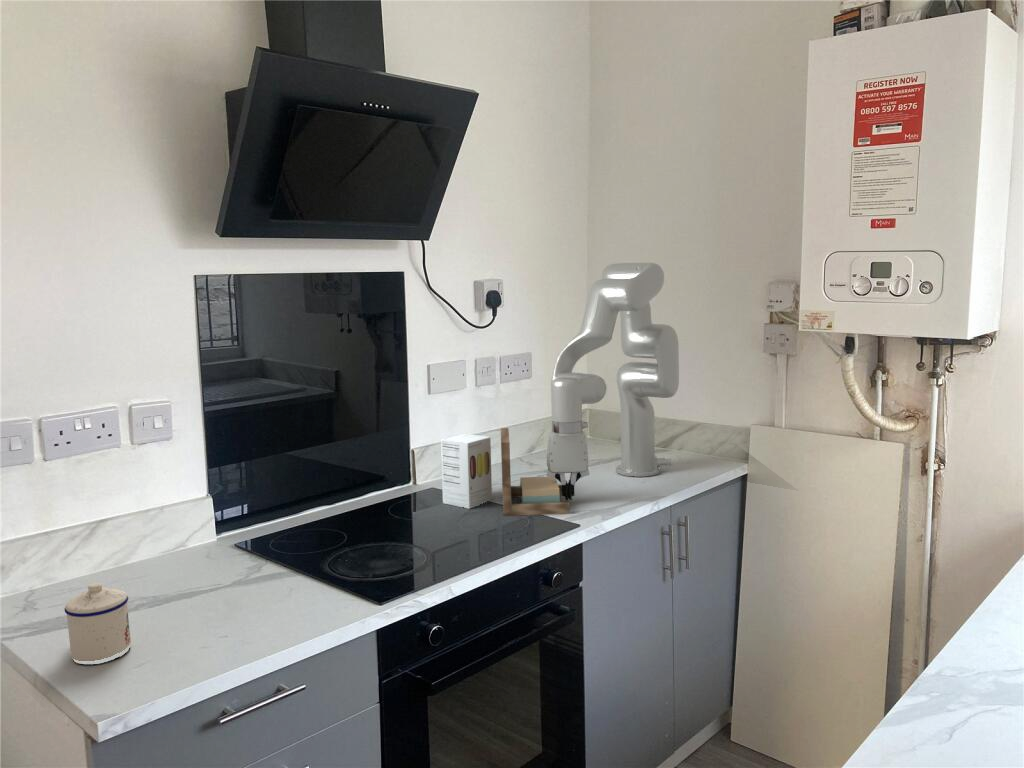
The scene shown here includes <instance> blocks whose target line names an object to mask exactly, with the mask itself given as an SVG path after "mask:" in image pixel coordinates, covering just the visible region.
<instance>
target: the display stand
mask: <svg viewBox="0 0 1024 768" xmlns="http://www.w3.org/2000/svg"><path fill="white" fill-rule="evenodd" d="M509 431H510V430H509V427H501V428H500V447H501V449H500V452H501V477H502V478H501V483H502V484H501V485H502V486H501V489H502V512H503V513H502V514H503V515H502V516H504V517H506V516H509V517H510V516H534V515H535V516H537V515H539V516H540V515H563V514H564V515H565V514H571V513H570V502H568V501H563V502H561V501H560V502H559V503H528V504H522V503H512V498H513V497H514V498H515V497H516V498H517V497H519V496H520V497H521V490H520V485H512V483H511V481H512V480H511V451H510V450H511V449H510V446H511V443H510V442H511V441H510V433H509ZM558 486H559V495H560V496H562V484H558Z"/></svg>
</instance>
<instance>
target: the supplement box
mask: <svg viewBox="0 0 1024 768" xmlns="http://www.w3.org/2000/svg"><path fill="white" fill-rule="evenodd" d="M491 440H492V439H491V436H486V435H477V434H469V433H462V434H458V435H455V436H454V435H453V436H451V437H447V438H442V439H441V438H440V452H441V453H440V454H441V455H440V457H441V480H442V481H441V482H442V483H441V485H442V488H441V489H442V504H445V505H450V506H455V507H460V508H463V507H464V508H463V509H468V510H469V509H472V508H475V506H476V507H478V506H481V505H483V503H484V504H486V503H488V502H487V501H489V502H492V501H491V500H493V494H492V493H493V489H492V485H493V484H492V450H491V449H492V446H491V443H492V441H491ZM485 502H486V503H485ZM480 504H481V505H480Z"/></svg>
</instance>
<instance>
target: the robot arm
mask: <svg viewBox="0 0 1024 768" xmlns="http://www.w3.org/2000/svg"><path fill="white" fill-rule="evenodd" d="M664 273H665V272H664V270H663V268H662V267H661V265H659V264H657V263H655V262H622V263H621V262H619V263H611V264H608V265H606V266H605V267H604V268H603V270H602V273H601V279H598V280H596V281H594V282H593V283H592V285H591V286H590V288H589V292H588V298H587V300H586V305H585V310H584V313H583V316H582V321H581V326H580V330H579V332H578V334H576V335H575V336H574V337H573V338H572V339H571V340H570V341H569V342H568V343H567V344H566V345H565V346H564V347H563V348H562V350H561V352H560V353H559V354H558V355H557V358H556V360H555V364H554V369H553V372H552V375H551V382H550V394H551V396H550V398H551V399H550V400H551V401H550V402H551V431H549V432H548V436H547V443H546V444H547V445H546V447H547V448H546V465H547V468H546V477H552V478H556V480H557V482H559V483H560V485H562V495H561V497H564V499H565V501H568V500H569V501H573V497H575V485H576V483H577V482H578V480H580V479H581V478H584V477H587V476H589V475H590V471H589V453H588V452H589V451H588V443H587V436H586V432H585V431H584V429H585V428H589V423H588V421H583V405H593V404H598V403H599V402H601V401H602V400H603V398H605V396H606V394H607V383H606V381H605V380H604V378H603V377H601V376H600V375H597V374H594V373H583V372H573V370H574V368H575V366H576V364H577V363H578V362H579V360H581V359H582V357H584V356H585V355H587V354H589V353H591V352H594V351H595V350H598V349H600V348H602V347H604V346H606V345H608V344H609V343H610V342H611V341H612V340H613V335H614V330H615V326H616V321H617V318H618V314H619V317H620V343H621V350H622V352H623V354H624V355H625V356H627V357H630V358H638V359H640V358H641V359H653V360H654V359H655V360H656V362H642V361H631V362H630V361H629V362H626V363H623V364H622V365H621V366H620V367H619V368H618V370H617V373H616V385H617V390H618V394H619V404H620V406H619V407H620V464H618V465H616V466H615V472H616V473H617V474H618V473H619V475H621V476H625V477H626V476H627V477H633V476H634V478H635V477H638V478H640V477H643V478H644V477H650V476H651V477H652V476H655V475H658V474H659V473H660V472H661V466H672V459H671V458H665V457H657V455H655V451H656V450H655V447H656V446H655V409H654V406H653V404H652V402H651V400H650V398H660V399H661V398H663V399H668V398H672V397H674V396H675V395H676V393H677V392H678V389H679V383H680V360H679V359H680V357H679V356H680V353H679V351H680V349H679V348H680V347H679V337H678V334H677V331H676V329H675V328H673V326H670V325H668V324H661V323H660V324H659V323H653V322H652V311H651V309H652V308H651V303H650V302H651V301H652V300H653V299H654V298H655V297H656V296H657V295H658V294H659V293H660V292H661V290H662V288H663V286H664V283H665V274H664ZM566 474H569V475H570V476H569V479H568V480H567V479H566ZM567 481H568V482H567Z"/></svg>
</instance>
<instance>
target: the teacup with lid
mask: <svg viewBox="0 0 1024 768" xmlns="http://www.w3.org/2000/svg"><path fill="white" fill-rule="evenodd" d="M128 601H129V597H128V594H127V593H126V592H125V591H123V590H122V589H119V588H118V589H117V588H109V587H106V586H105V587H103V584H102V583H100V582H93V583H90V584H89V585H88V587H87V590H85V591H83V592H82V593H81V594H78V595H76V596H74V597H72V598H70V599H69V600H68V601H67V603H66V604H65V606H64V612H65V614H66V619H67V629H68V638H69V639H68V640H69V646H70V647H69V648H70V657H71V656H72V657H71V659H72V658H73V659H75V660H78V661H95V660H101V659H104V658H108V657H111V656H113V655H115V654H117V653H120V652H122V651H123V650H125V649H126V648H127V647H128V646H129V645H130V643H131V644H132V641H131V630H130V628H131V627H130V621H129V611H128V610H129V609H128Z"/></svg>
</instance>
